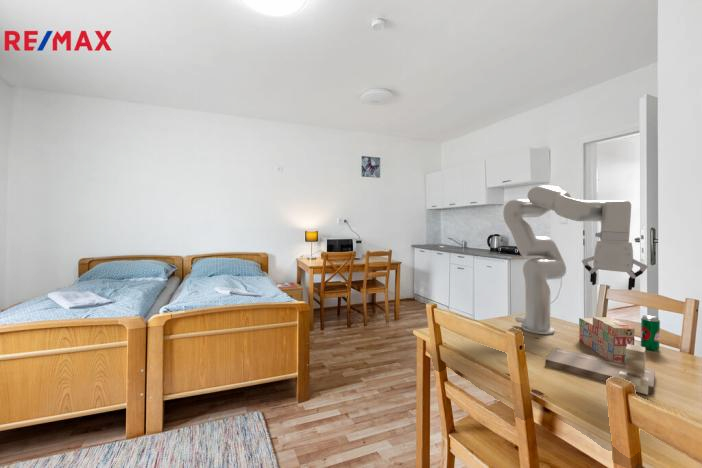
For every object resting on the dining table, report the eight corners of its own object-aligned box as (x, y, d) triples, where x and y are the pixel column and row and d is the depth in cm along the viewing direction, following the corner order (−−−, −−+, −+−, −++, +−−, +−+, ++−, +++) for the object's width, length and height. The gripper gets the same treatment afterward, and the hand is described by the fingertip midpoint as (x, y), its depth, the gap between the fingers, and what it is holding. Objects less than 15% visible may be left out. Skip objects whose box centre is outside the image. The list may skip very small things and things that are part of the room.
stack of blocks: (578, 340, 128) (579, 310, 128) (595, 341, 127) (596, 310, 127) (613, 363, 107) (614, 327, 107) (634, 364, 106) (635, 328, 106)
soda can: (658, 352, 115) (659, 319, 115) (639, 348, 119) (640, 316, 118) (660, 349, 118) (660, 317, 118) (641, 345, 122) (642, 314, 122)
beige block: (618, 387, 90) (619, 353, 90) (624, 370, 101) (624, 339, 101) (647, 395, 86) (648, 359, 86) (650, 376, 97) (650, 344, 96)
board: (545, 365, 106) (545, 359, 106) (556, 352, 116) (556, 347, 116) (653, 394, 87) (653, 386, 87) (654, 376, 97) (655, 369, 97)
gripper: (581, 236, 111) (578, 284, 113) (648, 239, 99) (644, 293, 100) (585, 235, 117) (583, 281, 118) (650, 238, 104) (646, 289, 105)
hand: (611, 286), depth 109 cm, fingers open, 9 cm apart
